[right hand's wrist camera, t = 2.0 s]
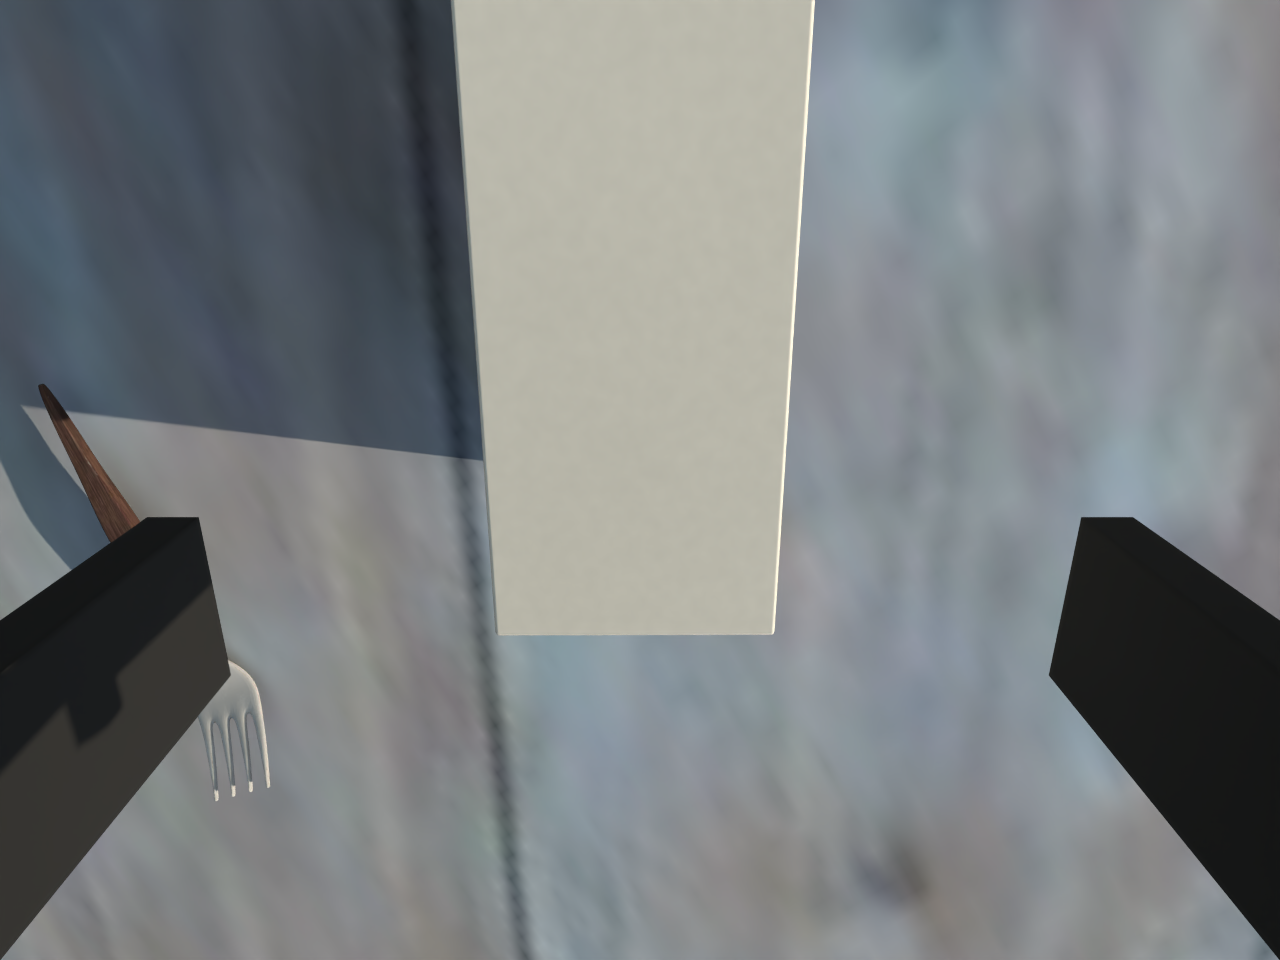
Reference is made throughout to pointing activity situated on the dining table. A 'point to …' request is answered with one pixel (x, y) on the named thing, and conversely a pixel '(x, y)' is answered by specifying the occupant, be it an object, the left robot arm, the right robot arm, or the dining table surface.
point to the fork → (115, 521)
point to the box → (633, 303)
